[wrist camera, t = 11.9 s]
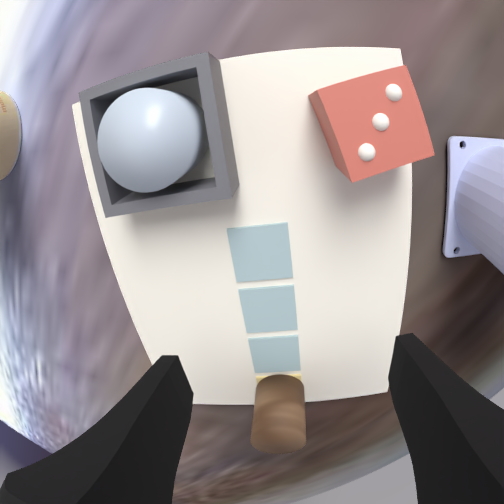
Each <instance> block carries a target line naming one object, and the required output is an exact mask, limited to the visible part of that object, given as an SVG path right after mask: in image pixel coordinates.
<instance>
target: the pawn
mask: <svg viewBox="0 0 504 504" xmlns="http://www.w3.org/2000/svg"><path fill="white" fill-rule="evenodd" d="M250 442H251V444H252V446H253V447H254V448H256V449H257V450H259V451H262V452H265V453H271V454H286V453H292V452H295V451H297V450H299V449H301V448H302V447H304V445H305V444H306V420H305V394H304V385H303V383H302V382H301V381H300V380H299V379H297V378H295V377H293V376H290V375H284V374H277V375H271V376H268V377H265V378H263V379H262V380H261V381H259V382H258V384H257V386H256V393H255V403H254V412H253V422H252V431H251V440H250Z"/></svg>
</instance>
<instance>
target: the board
mask: <svg viewBox="0 0 504 504" xmlns="http://www.w3.org/2000/svg"><path fill="white" fill-rule="evenodd" d="M398 66H403V62H402V56H401V50H400V49H396V48H376V47H328V48H308V49H295V50H284V51H274V52H266V53H258V54H251V55H244V56H238V57H232V58H227V59H221V60H217V59H216V58H215V57H214V56H213V55H211V54H210V53H209V52H205V53H200V54H196V55H191V56H187V57H183V58H179V59H175V60H172V61H168V62H164V63H161V64H157V65H154V66H151V67H147V68H144V69H141V70H138V71H135V72H132V73H129V74H126V75H123V76H120V77H117V78H115V79H112V80H109V81H107V82H104V83H101V84H99V85H96V86H94V87H91V88H89V89H86V90H84V91H82V92H79V98H80V102H78V103H75V104H73V105H72V108H73V114H74V120H75V126H76V131H77V137H78V142H79V147H80V151H81V156H82V161H83V165H84V170H85V174H86V178H87V182H88V186H89V190H90V194H91V198H92V201H93V205H94V209H95V212H96V216H97V219H98V223H99V226H100V229H101V233H102V236H103V239H104V242H105V246H106V249H107V252H108V255H109V258H110V261H111V264H112V267H113V269H114V272H115V275H116V278H117V281H118V283H119V286H120V289H121V292H122V294H123V297H124V299H125V302H126V305H127V307H128V310H129V312H130V315H131V317H132V320H133V322H134V324H135V327H136V329H137V332H138V334H139V336H140V338H141V341H142V343H143V345H144V348H145V350H146V352H147V354H148V356H149V359H150V361H151V363H152V365H153V364H154V363H155V362H156V361H157V360H158V359H159V358H160V357H161V355H178V356H179V359H180V362H181V364H182V367H183V369H184V372H185V374H186V376H187V379H188V381H189V384H190V386H191V388H192V391H193V393H194V396H193V404H220V405H252V404H254V403H255V393H256V386H257V384H258V382H259V381H261V380H262V379H263V378H265V377H268V376H271V375H277V374H284V375H290V376H293V377H295V378H297V379H299V380H300V381H301V382H302V383H303V385H304V394H305V402H312V401H323V400H333V399H341V398H349V397H357V396H364V395H371V394H377V393H383V392H387V391H388V386H389V381H388V374H389V370H390V365H391V360H392V354H393V349H394V343H395V337H396V336H399V333H400V327H401V320H402V314H403V307H404V299H405V291H406V283H407V273H408V263H409V250H410V235H411V212H412V163H409V164H406V165H403V166H400V167H397V168H394V169H391V170H388V171H385V172H382V173H379V174H376V175H374V176H371V177H368V178H365V179H362V180H359V181H356V182H353V183H352V182H351V181H350V180H349V179H348V178H347V177H346V176H345V175H344V174H343V173H342V172H341V171H340V170H339V169H338V168H337V167H336V166H335V163H334V160H333V157H332V155H331V152H330V149H329V147H328V144H327V141H326V139H325V136H324V134H323V131H322V129H321V126H320V124H319V121H318V119H317V116H316V114H315V111H314V109H313V107H312V104H311V102H310V99H309V97H308V95H310V94H311V93H313V92H314V91H316V90H318V89H321V88H324V87H327V86H330V85H333V84H336V83H339V82H343V81H346V80H349V79H353V78H356V77H360V76H363V75H367V74H371V73H374V72H378V71H382V70H386V69H390V68H394V67H398ZM139 88H156V89H163V90H169V91H175V92H180V93H183V94H185V95H187V96H189V97H191V98H192V99H193V100H195V101H196V102H197V103H198V104H199V105H200V107H201V108H202V109H203V111H204V117H205V123H206V129H207V135H208V141H209V143H208V147H207V150H206V152H205V155H204V156H203V158H202V160H201V161H200V162H199V163H198V165H197V166H196V167H195V168H193V169H192V170H191V171H189V172H188V173H187V174H185V175H184V176H182V177H181V178H179V179H178V180H177V181H175V182H174V183H172V184H171V185H169V186H167V187H166V188H164V189H161V190H159V191H155V192H148V193H143V192H135V191H132V190H129V189H126V188H124V187H122V186H121V185H119V184H118V183H117V182H115V181H114V180H113V179H112V178H111V177H110V176H109V174H108V173H107V171H106V170H105V168H104V166H103V164H102V162H101V159H100V156H99V152H98V143H97V139H98V130H99V126H100V123H101V120H102V118H103V116H104V114H105V112H106V111H107V109H108V108H109V107H110V105H111V104H112V103H113V102H114V101H115V100H116V99H117V98H119V97H120V96H121V95H123V94H125V93H127V92H129V91H132V90H135V89H139Z"/></svg>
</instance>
